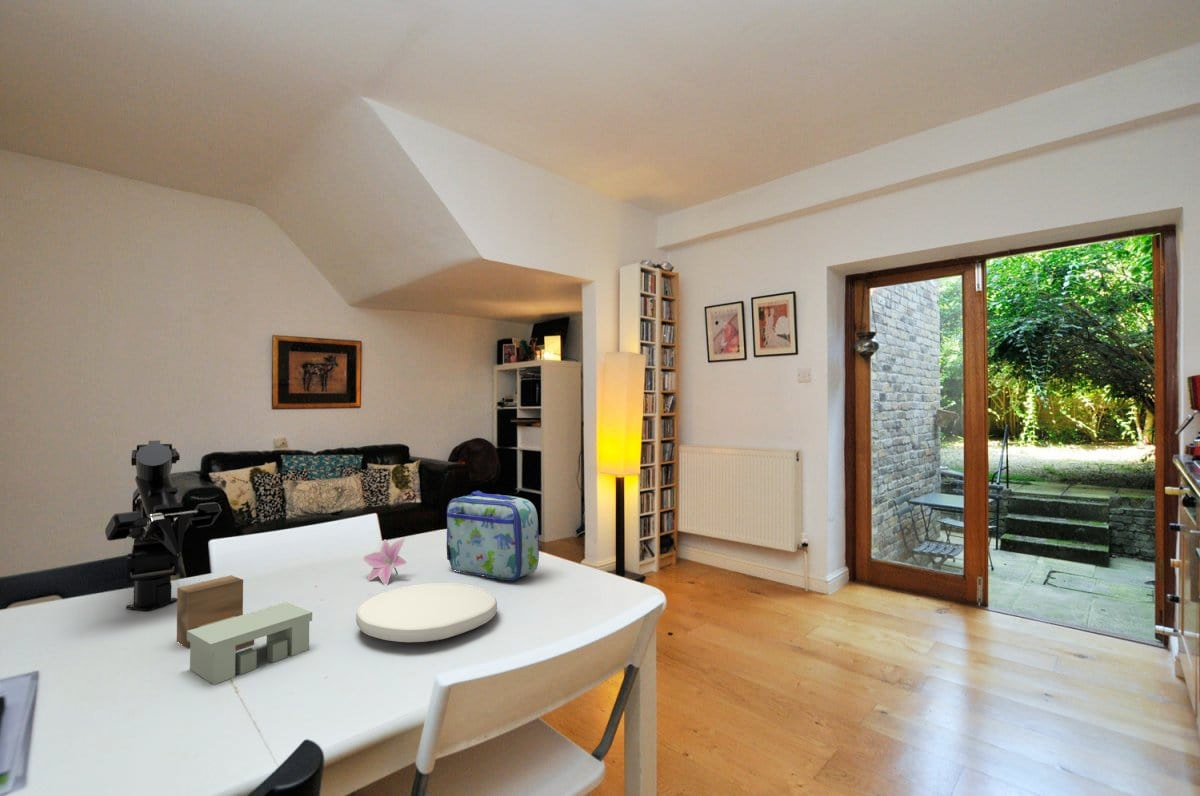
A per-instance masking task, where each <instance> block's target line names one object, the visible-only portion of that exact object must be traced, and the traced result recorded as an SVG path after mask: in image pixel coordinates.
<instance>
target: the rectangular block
mask: <svg viewBox="0 0 1200 796" xmlns="http://www.w3.org/2000/svg"><path fill="white" fill-rule="evenodd" d="M176 592H177V594H176V595H177V597H176V598H177V601H176V602H177V603H176V643H178V642H179V643H180V644H179V643H178V644H179V645H181V644H182V645H181V646H183V647H185V648H186V649H190V642H189V641H188V640H187V631H188V630H192V629H195V628H199V627H202V626H206V625H209V624H213V623H216V622H220V621H223V620H226V619H230V618H233V617H237V616H240V615H244V611H243V610H244V579H243V578H240V577H237V576H234V575H232V574H230V575H225V576H223V577H219V578H213V579H208V580H205V581H201V582H197V583H191V584H188V585H187V584H186V585H182V586H179V587H177V591H176ZM253 645H255V639H254V640H251V641H248V642H245V643H242V644H239V645H236V646H235V651H238V650H241V649H245V648H247V647H250V646H253Z"/></svg>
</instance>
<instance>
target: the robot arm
mask: <svg viewBox="0 0 1200 796" xmlns="http://www.w3.org/2000/svg"><path fill="white" fill-rule="evenodd" d="M180 457H181V456H180V453H179V452H178V450H177V448H176V447H175V448H173V444H172V443H161V440H148V444H137V445H136V449H132V451H131V461H130V462H131V466H132V467H136V468H135V470H136V476H135V483H136V486H137V488H136V489H135V490H134V491H133V493H132V505H131V506H132V510H131V511H127V512H119V513H114V514H113V515H112V517H110V520H109V522H108V523H107V525H106V527H105V528H104V529H105V538H106V540H107V541H109V542H110V541H116V540H124V539H127V538H131V539H132V540H133V545H132V546H131V547H132V548H131V553H127V558H126V560H127V561H126V563H127V564H126V566H127V567H126V568H127V569H126V570H127V571H126V573H127V574H126V582H127V584H128V583H132V582H133V603H131V604H127V605H126V606H125V608H126V609H128V608H131V609H130V610H136V609H138V610H139V611H146V612H147V611H152V610H155V609H158V608H161V607H164V606H166V605H168V604H172V603H175V602H177V597H172V582H171V581H172V576H175V577H176V576H177V575H178V574H181V565H182V564H181V563H182V562H181V561H182V560H181V559H182V554H181V553H182V548H183V542H184V536H185V532H186V531H187V529H188V528H189V526H190V525H191V527H193V528H195V529H198V528H199V529H200V528H205V527H210V526H212V525H214V523H215V522H216V520H217V519H218V518H219V515H221V513H222V511H223V510H222V508H221V507H222V506H221V504H220V503H218V502H215V501H214V502H205V503H198V504H197V505H196V507H195V508H194V510H188V511H182V510H183V509H184V504H183V502H179V499H178V496H177V494H178V492H179V489H178V487H176V486H175V487H174V485H173V483H172V479H171V476H170V475H171V472H172V468H173V465H175V464H177V462H178V461H180Z"/></svg>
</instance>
